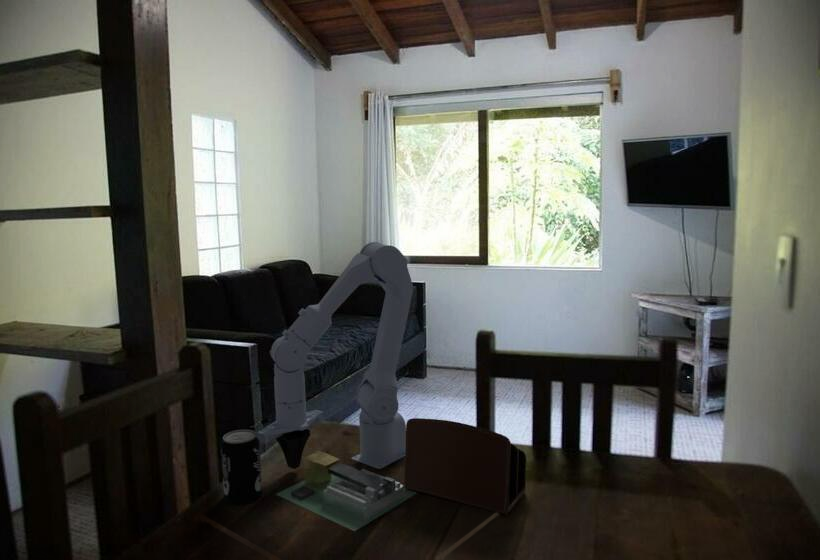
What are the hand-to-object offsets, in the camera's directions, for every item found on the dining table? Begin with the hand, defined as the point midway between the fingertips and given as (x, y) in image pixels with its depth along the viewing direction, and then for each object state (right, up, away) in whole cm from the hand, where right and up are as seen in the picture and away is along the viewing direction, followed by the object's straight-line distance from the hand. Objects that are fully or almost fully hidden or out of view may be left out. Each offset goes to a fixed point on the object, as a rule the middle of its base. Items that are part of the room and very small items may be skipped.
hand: (293, 466), depth 121 cm
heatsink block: (+15, -3, -12) cm, 19 cm away
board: (+11, -3, -9) cm, 15 cm away
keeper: (+6, -2, -5) cm, 8 cm away
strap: (+13, +1, -11) cm, 18 cm away
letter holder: (+32, -2, -8) cm, 34 cm away
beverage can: (-7, -3, -9) cm, 12 cm away
